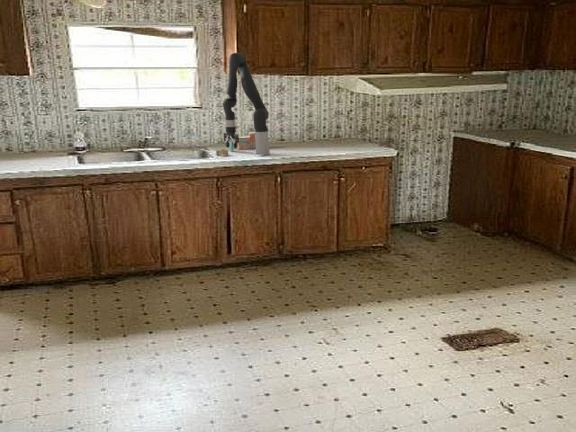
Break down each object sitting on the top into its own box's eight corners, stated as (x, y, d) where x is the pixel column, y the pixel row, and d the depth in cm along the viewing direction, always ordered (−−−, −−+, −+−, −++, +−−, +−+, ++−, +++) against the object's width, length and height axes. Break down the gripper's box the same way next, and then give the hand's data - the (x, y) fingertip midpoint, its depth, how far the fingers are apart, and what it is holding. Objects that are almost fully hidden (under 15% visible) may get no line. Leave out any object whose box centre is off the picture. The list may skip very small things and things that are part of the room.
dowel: (232, 153, 415) (231, 141, 413) (234, 153, 414) (233, 141, 411) (230, 153, 414) (229, 141, 411) (232, 153, 412) (231, 141, 410)
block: (223, 154, 403) (223, 149, 402) (228, 155, 400) (228, 149, 398) (218, 155, 399) (217, 150, 398) (222, 156, 396) (222, 150, 395)
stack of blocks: (238, 149, 429) (238, 133, 426) (238, 148, 435) (237, 132, 432) (266, 148, 433) (265, 132, 429) (265, 147, 438) (264, 131, 435)
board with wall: (223, 155, 405) (223, 149, 403) (231, 157, 399) (231, 150, 398) (216, 157, 400) (215, 150, 398) (224, 158, 394) (223, 151, 393)
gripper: (240, 126, 406) (241, 148, 410) (227, 124, 415) (228, 146, 420) (233, 127, 400) (234, 149, 405) (220, 125, 410) (221, 147, 414)
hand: (231, 147), depth 412 cm, fingers open, 8 cm apart
